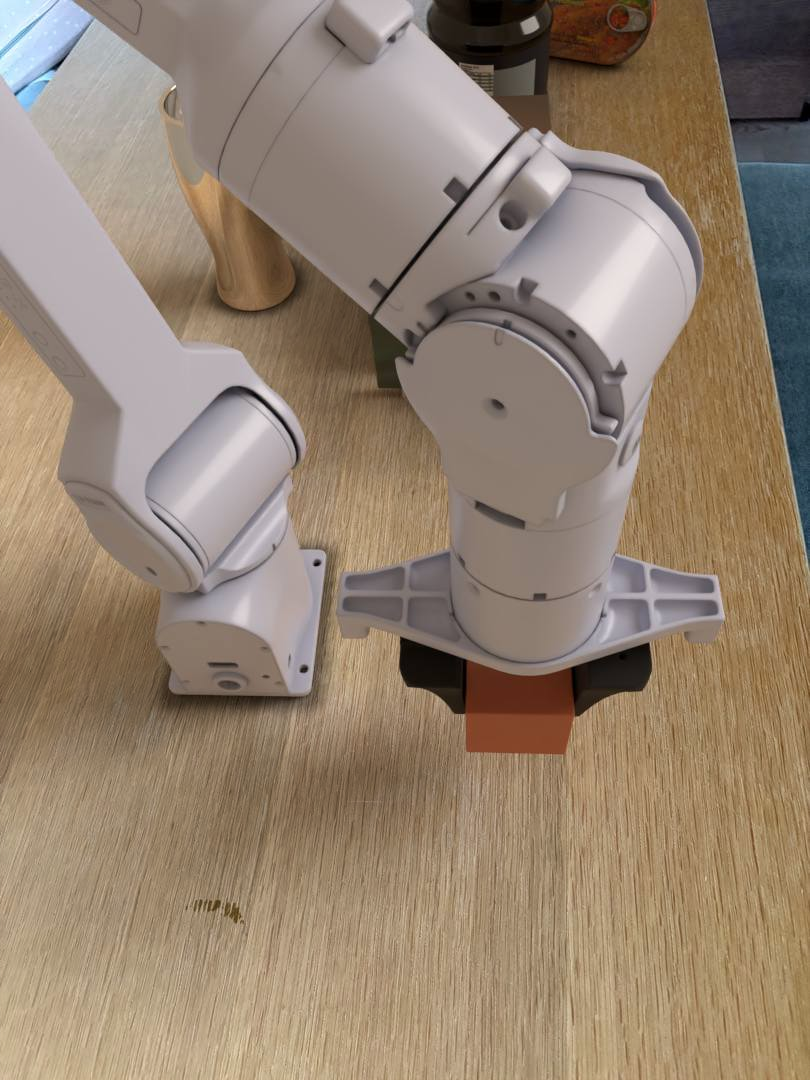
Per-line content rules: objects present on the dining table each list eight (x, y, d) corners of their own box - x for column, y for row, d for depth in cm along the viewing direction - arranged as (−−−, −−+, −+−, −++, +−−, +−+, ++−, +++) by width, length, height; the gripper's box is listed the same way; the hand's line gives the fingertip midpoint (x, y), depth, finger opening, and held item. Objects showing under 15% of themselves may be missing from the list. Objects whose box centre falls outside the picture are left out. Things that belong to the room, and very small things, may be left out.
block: (565, 755, 41) (574, 715, 37) (465, 752, 41) (465, 713, 38) (560, 665, 44) (568, 619, 40) (466, 663, 44) (466, 618, 40)
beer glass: (287, 319, 66) (244, 130, 54) (200, 311, 67) (138, 124, 55) (311, 259, 70) (276, 70, 58) (228, 253, 71) (176, 66, 59)
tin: (492, 46, 87) (494, -49, 80) (504, 31, 88) (507, -64, 81) (642, 73, 82) (658, -26, 75) (652, 56, 84) (668, -42, 77)
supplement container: (516, 70, 84) (521, -73, 74) (567, 125, 78) (581, -22, 68) (413, 99, 82) (404, -44, 72) (458, 158, 76) (455, 11, 67)
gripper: (733, 437, 32) (665, 621, 43) (332, 439, 33) (368, 618, 44) (769, 609, 28) (683, 762, 39) (312, 604, 29) (357, 754, 40)
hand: (516, 695), depth 41 cm, fingers closed on block, 4 cm apart
